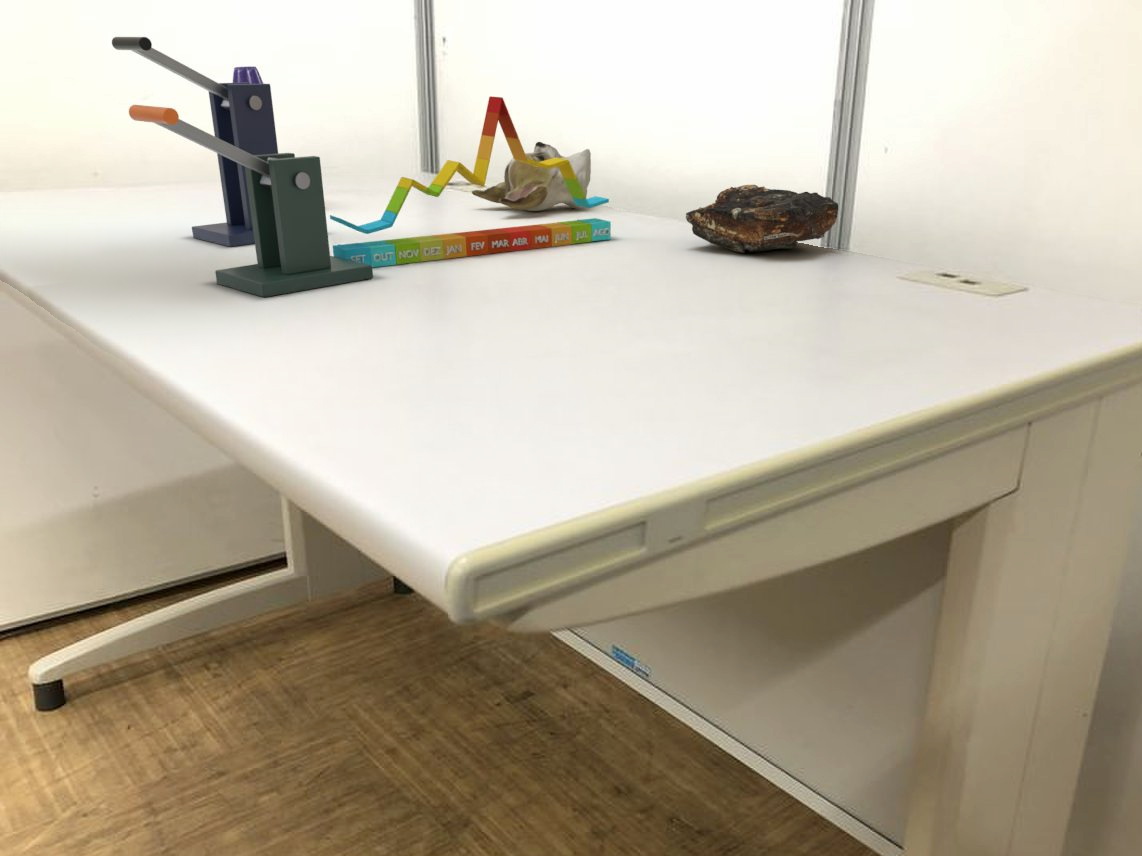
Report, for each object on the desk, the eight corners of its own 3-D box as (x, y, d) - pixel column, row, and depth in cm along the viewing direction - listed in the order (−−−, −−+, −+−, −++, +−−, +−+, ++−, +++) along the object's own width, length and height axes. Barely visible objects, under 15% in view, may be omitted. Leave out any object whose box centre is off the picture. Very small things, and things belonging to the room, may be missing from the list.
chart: (347, 270, 100) (330, 102, 94) (334, 265, 102) (317, 100, 96) (612, 239, 116) (611, 95, 111) (595, 235, 119) (594, 93, 113)
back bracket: (230, 246, 111) (207, 85, 105) (193, 237, 116) (169, 83, 110) (322, 234, 118) (306, 83, 112) (283, 226, 123) (266, 81, 117)
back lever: (135, 52, 100) (143, 28, 100) (108, 51, 104) (115, 28, 104) (263, 120, 111) (271, 98, 111) (234, 117, 115) (241, 96, 115)
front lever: (159, 127, 80) (169, 97, 80) (123, 123, 84) (133, 94, 84) (312, 200, 91) (321, 174, 91) (275, 194, 95) (283, 168, 95)
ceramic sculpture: (608, 139, 132) (496, 151, 125) (612, 210, 135) (503, 225, 129) (570, 133, 141) (464, 145, 134) (575, 200, 144) (472, 214, 138)
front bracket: (264, 297, 89) (246, 164, 85) (216, 283, 94) (198, 157, 90) (373, 278, 97) (362, 155, 93) (324, 266, 102) (312, 149, 97)
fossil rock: (855, 245, 114) (859, 189, 112) (791, 264, 104) (794, 204, 102) (746, 232, 122) (748, 180, 120) (676, 250, 112) (677, 193, 110)
